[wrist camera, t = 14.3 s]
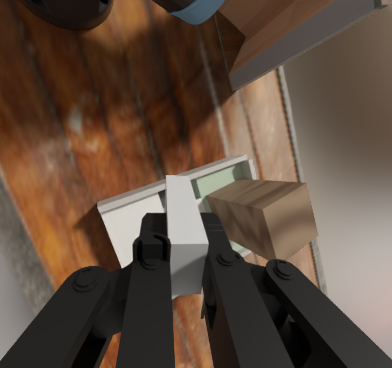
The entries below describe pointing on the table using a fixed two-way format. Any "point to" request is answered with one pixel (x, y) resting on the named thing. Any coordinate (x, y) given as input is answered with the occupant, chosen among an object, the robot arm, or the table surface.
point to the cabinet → (280, 31)
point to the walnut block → (265, 216)
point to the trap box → (155, 202)
